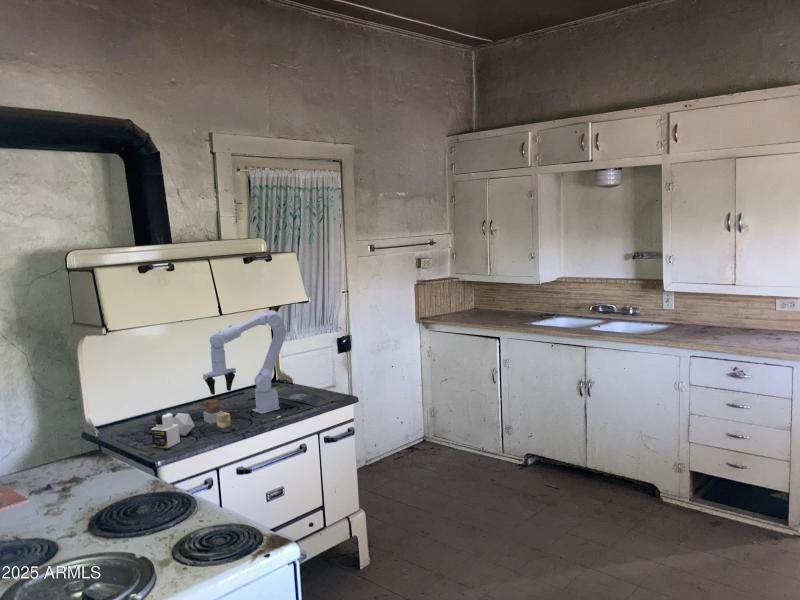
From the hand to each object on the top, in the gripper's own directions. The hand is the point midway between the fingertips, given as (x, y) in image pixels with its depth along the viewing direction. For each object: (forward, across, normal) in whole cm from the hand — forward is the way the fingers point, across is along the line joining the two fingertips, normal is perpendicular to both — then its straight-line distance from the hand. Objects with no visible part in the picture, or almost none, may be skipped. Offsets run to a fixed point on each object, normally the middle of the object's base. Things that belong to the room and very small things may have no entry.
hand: (221, 392), depth 280 cm
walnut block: (+7, +6, +3) cm, 10 cm away
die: (+11, +23, +9) cm, 27 cm away
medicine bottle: (+11, +33, +16) cm, 38 cm away
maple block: (+10, +7, +13) cm, 18 cm away
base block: (+11, +6, +3) cm, 13 cm away
